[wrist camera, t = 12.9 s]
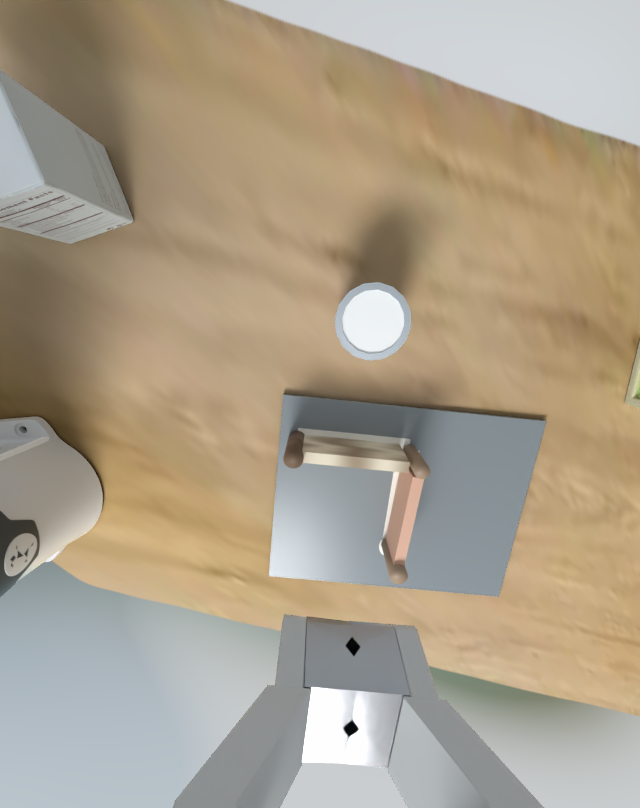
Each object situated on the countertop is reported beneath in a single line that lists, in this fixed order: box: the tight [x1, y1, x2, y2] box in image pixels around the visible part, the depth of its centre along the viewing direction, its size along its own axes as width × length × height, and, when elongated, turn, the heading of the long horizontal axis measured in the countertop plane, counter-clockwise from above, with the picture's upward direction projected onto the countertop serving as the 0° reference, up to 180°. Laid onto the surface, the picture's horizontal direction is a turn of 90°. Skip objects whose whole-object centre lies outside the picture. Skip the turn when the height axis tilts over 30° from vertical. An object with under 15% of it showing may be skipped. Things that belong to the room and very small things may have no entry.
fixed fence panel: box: [283, 430, 410, 473], centre depth 39 cm, size 13×2×6 cm, turn 84°
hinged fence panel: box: [381, 444, 430, 584], centre depth 41 cm, size 14×2×6 cm, turn 172°
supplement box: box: [0, 70, 134, 244], centre depth 30 cm, size 7×7×13 cm
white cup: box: [335, 282, 411, 360], centre depth 36 cm, size 7×7×7 cm
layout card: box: [269, 394, 546, 597], centre depth 44 cm, size 30×24×1 cm
